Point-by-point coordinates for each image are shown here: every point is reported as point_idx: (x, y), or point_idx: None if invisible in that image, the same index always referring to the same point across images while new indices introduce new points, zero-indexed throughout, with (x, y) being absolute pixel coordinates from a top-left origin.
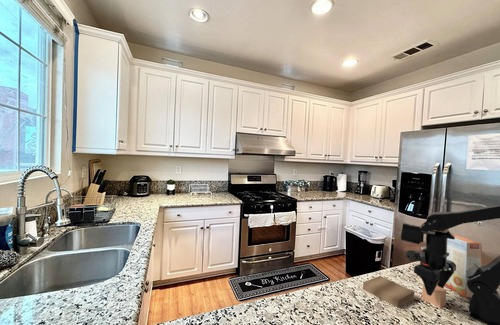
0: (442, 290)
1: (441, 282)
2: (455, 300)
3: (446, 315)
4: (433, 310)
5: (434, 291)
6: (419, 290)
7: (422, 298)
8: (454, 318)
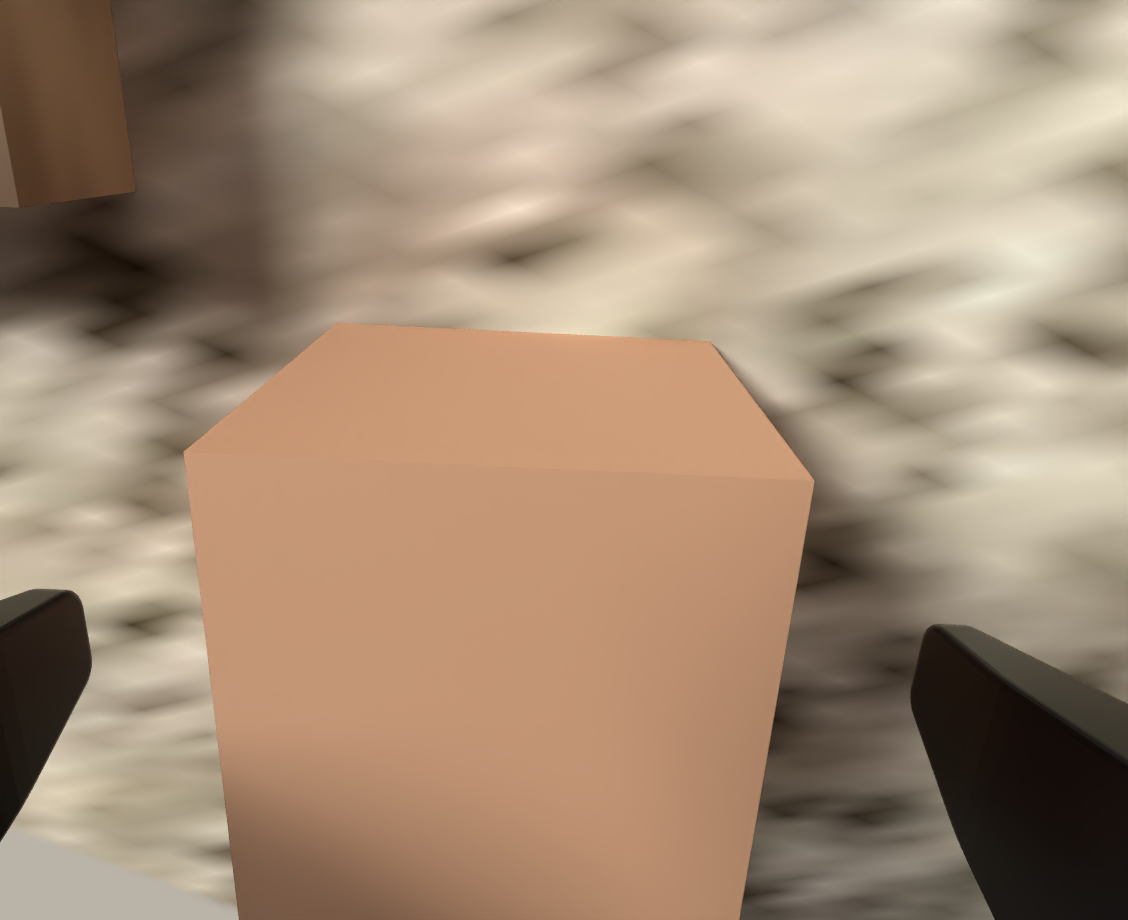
0: (528, 899)
1: (1037, 875)
2: None
3: (159, 776)
4: None
5: (243, 763)
6: (815, 88)
7: (335, 328)
8: (206, 858)
